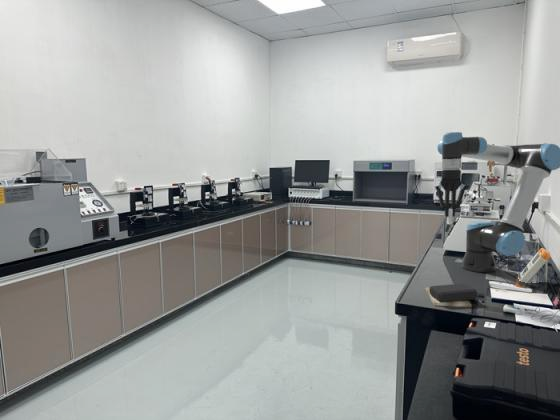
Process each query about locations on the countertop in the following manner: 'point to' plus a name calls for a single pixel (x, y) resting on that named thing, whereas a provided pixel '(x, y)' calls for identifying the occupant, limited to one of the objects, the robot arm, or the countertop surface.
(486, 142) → the robot arm
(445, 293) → the card reader
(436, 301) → the birch board
